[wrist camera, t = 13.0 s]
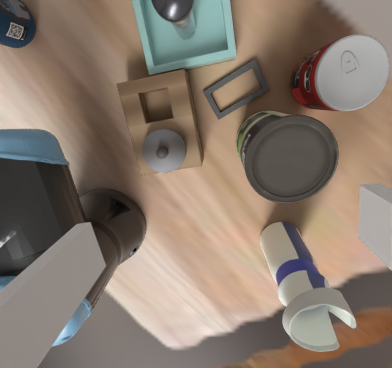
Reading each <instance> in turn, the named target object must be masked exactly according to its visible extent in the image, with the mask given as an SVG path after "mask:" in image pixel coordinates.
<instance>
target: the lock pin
mask: <svg viewBox="0 0 392 368" xmlns="http://www.w3.org/2000/svg"><path fill="white" fill-rule="evenodd" d="M151 1H152V4H153V7H154V9H155V10H156V12H157V13H158V14H159V16H160V17H161V18H163V19H164V20H166V21H168V22H171V24H172V25H173V27H174V29H175V30H176V32H177V34H178V35H179V37H181V38H182V39H190V38H192V37H193V36H194V34H195V32H196V23H195V19H194V16H193V12H192V8H193V5H194V0H151Z"/></svg>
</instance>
